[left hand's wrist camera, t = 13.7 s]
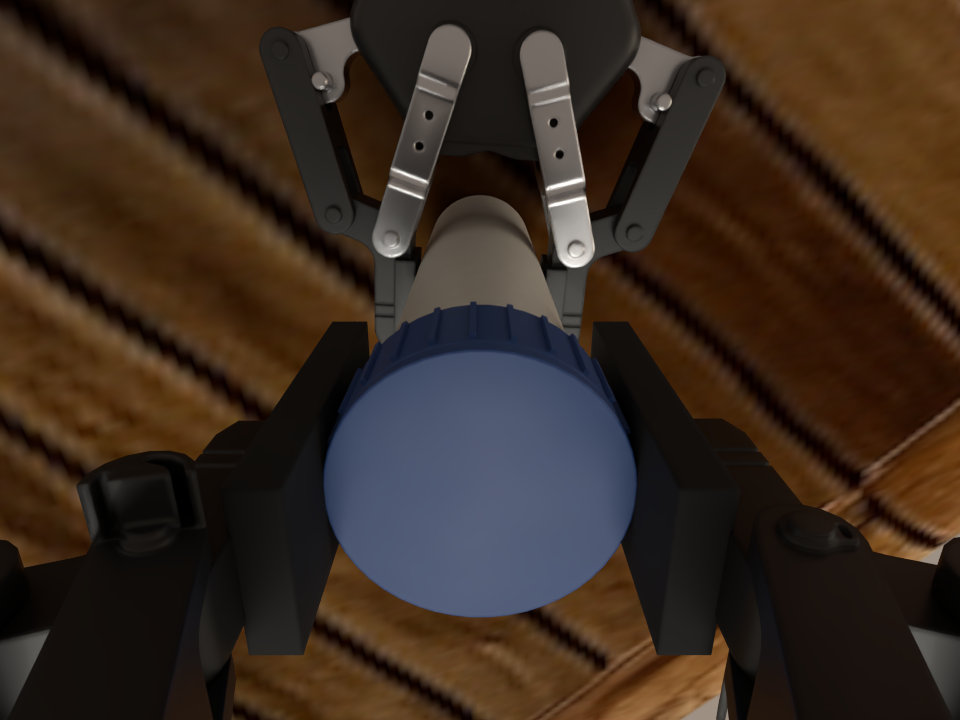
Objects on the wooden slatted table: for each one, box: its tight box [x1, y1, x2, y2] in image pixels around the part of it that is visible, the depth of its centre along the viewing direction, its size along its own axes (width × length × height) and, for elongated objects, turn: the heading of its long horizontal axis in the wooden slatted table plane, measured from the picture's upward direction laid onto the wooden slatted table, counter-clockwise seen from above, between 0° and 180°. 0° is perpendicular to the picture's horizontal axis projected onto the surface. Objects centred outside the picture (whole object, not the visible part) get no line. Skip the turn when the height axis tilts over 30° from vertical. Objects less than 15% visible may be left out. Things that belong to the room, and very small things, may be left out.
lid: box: [323, 301, 637, 617], centre depth 11 cm, size 5×5×2 cm
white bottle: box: [395, 195, 564, 332], centre depth 19 cm, size 4×4×19 cm
